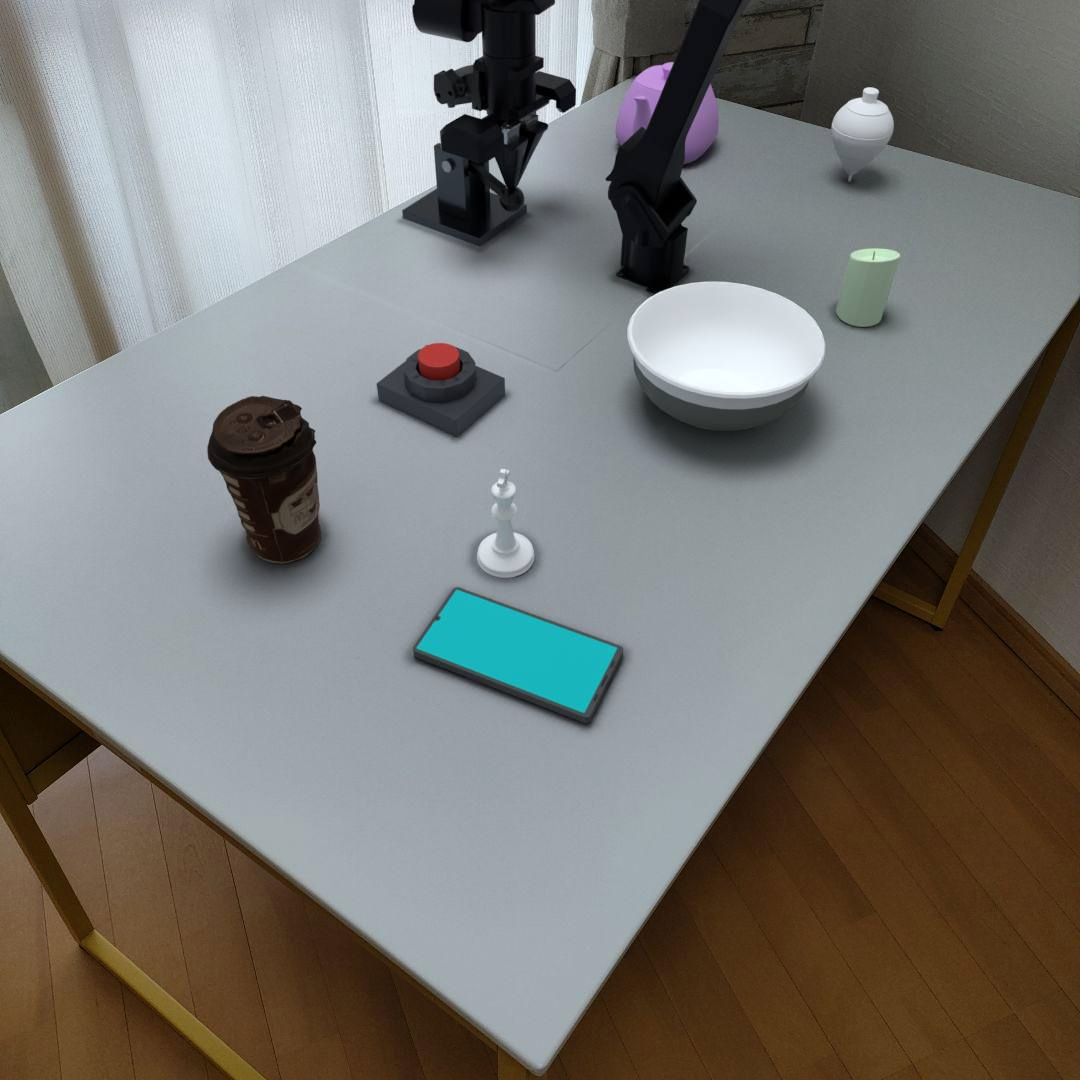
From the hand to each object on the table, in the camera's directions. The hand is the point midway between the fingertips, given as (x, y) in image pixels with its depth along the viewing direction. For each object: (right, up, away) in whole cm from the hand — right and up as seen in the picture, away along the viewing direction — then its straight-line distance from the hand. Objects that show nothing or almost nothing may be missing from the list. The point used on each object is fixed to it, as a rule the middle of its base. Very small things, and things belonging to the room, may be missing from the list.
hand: (511, 187), depth 118 cm
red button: (-6, -25, -20) cm, 33 cm away
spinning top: (+45, +6, +15) cm, 47 cm away
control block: (-6, -28, -17) cm, 33 cm away
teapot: (+21, +13, +21) cm, 32 cm away
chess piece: (0, -43, -32) cm, 54 cm away
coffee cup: (-19, -42, -31) cm, 55 cm away
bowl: (+21, -28, -18) cm, 39 cm away
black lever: (-3, +1, +3) cm, 4 cm away
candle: (+39, -17, -7) cm, 43 cm away
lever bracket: (-6, -1, +7) cm, 10 cm away
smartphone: (+2, -51, -40) cm, 65 cm away
